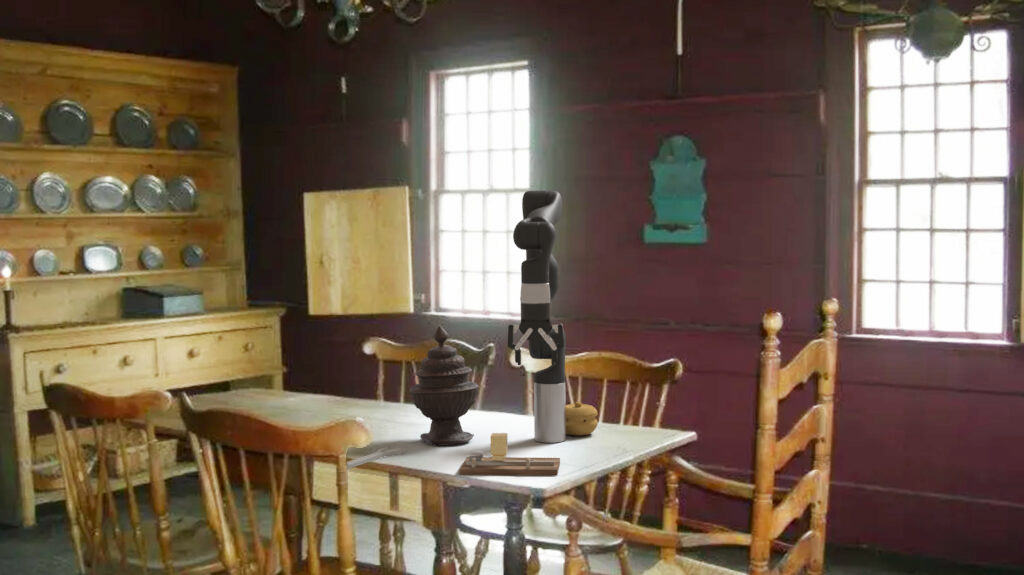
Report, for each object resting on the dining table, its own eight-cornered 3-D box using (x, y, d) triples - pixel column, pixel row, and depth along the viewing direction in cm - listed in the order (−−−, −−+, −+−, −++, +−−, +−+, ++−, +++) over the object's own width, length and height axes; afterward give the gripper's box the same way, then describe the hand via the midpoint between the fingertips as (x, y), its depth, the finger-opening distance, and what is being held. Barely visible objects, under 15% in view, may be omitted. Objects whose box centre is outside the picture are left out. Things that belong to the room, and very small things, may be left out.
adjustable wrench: (345, 471, 290) (345, 465, 290) (327, 469, 294) (327, 462, 293) (406, 453, 311) (406, 447, 310) (388, 451, 314) (388, 445, 314)
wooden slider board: (467, 462, 297) (466, 447, 296) (560, 463, 294) (559, 448, 294) (459, 474, 283) (459, 459, 283) (557, 475, 280) (557, 459, 280)
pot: (595, 439, 327) (595, 405, 326) (556, 437, 329) (555, 404, 329) (600, 431, 338) (599, 399, 338) (562, 430, 341) (561, 398, 340)
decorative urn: (496, 436, 329) (485, 319, 325) (455, 453, 312) (443, 330, 309) (443, 432, 340) (431, 320, 337) (400, 448, 324) (388, 330, 320)
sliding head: (493, 458, 292) (492, 432, 292) (508, 458, 292) (507, 432, 292) (490, 464, 286) (490, 436, 286) (505, 464, 286) (505, 436, 285)
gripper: (564, 299, 282) (564, 362, 283) (508, 300, 283) (509, 362, 284) (563, 302, 275) (563, 366, 276) (505, 302, 276) (506, 366, 277)
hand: (536, 364), depth 280 cm, fingers open, 8 cm apart
